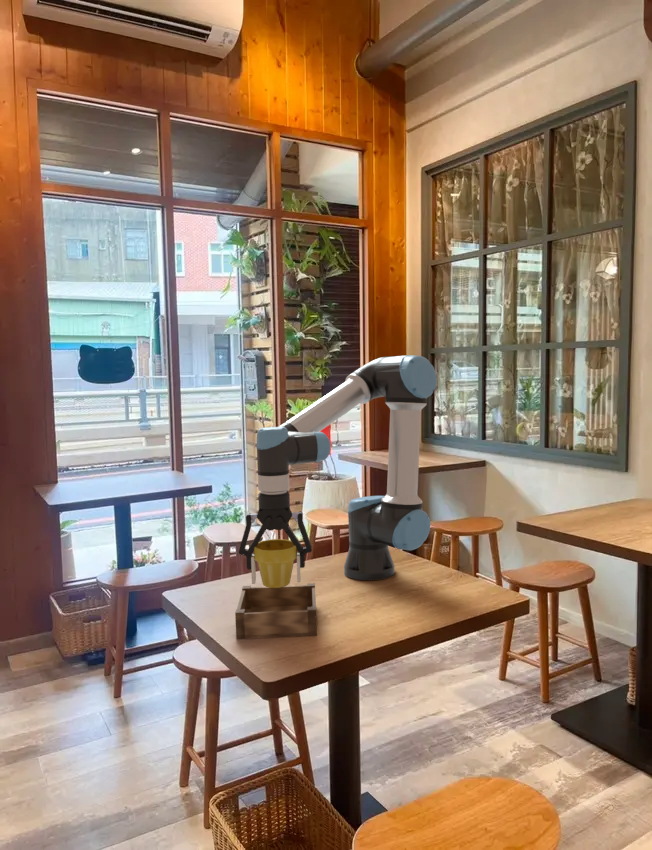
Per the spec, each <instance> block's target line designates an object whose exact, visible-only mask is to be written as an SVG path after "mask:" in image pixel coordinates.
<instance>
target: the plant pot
mask: <svg viewBox="0 0 652 850" xmlns="http://www.w3.org/2000/svg"><path fill="white" fill-rule="evenodd" d="M297 553H298V550H297V549H296V546H294V544H293V543H292V541H291V540H290V539H283V538H275V539H273V538H272V539H266V540H260V541H259V543H258V544H257V546H256V547H254V551H253V554H254V558H255V562H257V565H258V569H259V574H260V578H261V583H262V585H263V587H270V588H280V587H284V586H289V585H290V584H291V578H292V575H293V573H292V572H293V568H294V563H295V560H297Z"/></svg>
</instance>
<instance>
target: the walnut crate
mask: <svg viewBox="0 0 652 850" xmlns="http://www.w3.org/2000/svg"><path fill="white" fill-rule="evenodd" d="M241 590H242V591H241V593H240V597H239V601H238V604H237V606H236V607H237V608H236V609H235V611H234V612H235V613H234V615H235V637H236V640H238V639H239V640H243V639H247V640H248V639H265V638H266V639H267V638H289V637H293V638H294V637H297V638H298V637H315V636H316V637H317V636H318V623H317V622H318V620H317V604H316V603H317V601H316V596H317V595H316V583H315V582H314V583H313V582H312V583H306V584H305V585H303V584H299V585H297V584H296V585H287V586H284V587H280V588H270V587H266V586H251V585H242V587H241Z"/></svg>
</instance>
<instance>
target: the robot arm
mask: <svg viewBox="0 0 652 850" xmlns="http://www.w3.org/2000/svg"><path fill="white" fill-rule="evenodd" d="M437 379H438V378H437V372H436V370H435V367H434V365H433V364H431V361H429V359H427V357H424V356H421V355H413V354H410V355H396V356H395V355H394V356H382V357H378V358H375V359H373V360H371V361H369V362H367V363H365V364H364V365H362V366H361V367H359V368H357V369H355V370H354V371H353V372H351V373H350V374H349V375H347V376H346V377H345V381H344V382H343V383H341V384H340V385H338V386H337V387H335V388H334V389H333V390H331V391H330V392H328V393H326V395H324V396H322V397H321V398H319V399H317V400H316V401H315V402H313V403H312V404H311V405H309V406H306V408H304V409H303V410H301V411H300V412H298V413H297V414H296V415H294V416H292V417H291V418H289V419H288V420H287V421H285V422H284V423H282V424H281V425H278V426H266V427H265V426H264V427H261V428H259V429H258V430H257V433H256V446H255V448H256V462H257V465H256V466H257V467H256V468H257V490H258V491H259V493H258V495H257V496H258V497H257V498H258V499H257V500H258V512H256V513H251V512H248V513H247V514H246V515H245V527H244V532H243V536H242V539H241V542H240V545H239V549H238V554H239V555H243V556H245V558H246V569H247V570H251V584H252V585H255V584H256V581H257V574H256V573H257V572H256V569H257V568H256V560H255V558H254V547H256V546H257V544H258V543H259V542H261V539H262V537H263V535H264V534H265V533H266V530H268V531H274V530H276V531H282V530H283V531H284V533H285V534H286V535H287V537H288V538H289V540H291V541H292V543H293V544H294V546H296V549H297V557H296V579H297V580H296V581H297V583H301V579H302V578H301V569H304V568H305V567H306V561H305V558H306V554H308V553H311V552H312V551H313V549H312V547H313V546H312V544H311V540H310V538H309V535H308V532H307V529H306V526H305V523H304V519H303V518H304V517H303V515H304V514H303V511H300V510H299V511H298V512H296V511H295V512H293V511H292V509H291V505H290V504H291V503H290V492H289V490H290V466H292V465H298V464H299V465H300V464H309V463H315V464H316V463H318V462H321V461H325V460H326V459H327V458H329V455H330V452H331V441H330V439H329V437H328V436H327V434H326V433H324V432H323V430H324V429H325V428H327V427H328V426H330V425H331V424H334V422H336V421H337V420H339V419H340V418H342V417H343V416H344V415H346V414H347V413H348V412H351V410H353V409H354V408H355V407H357V406H358V405H360V404H361V405H365V404H367V403H369V402H371V401H372V400H373V399H377V398H383V397H385V399H384V401H385V402H384V403H385V405H387V407H388V408H389V411H390V412H389V435H388V457H387V460H388V461H387V479H386V480H387V482H386V483H387V485H386V494H385V495H369V496H362V497H356V498H353V499H351V500H350V501H349V503H348V511H347V515H348V516H347V517H348V519H347V520H348V521H347V522H348V541H349V543H348V544H349V548H348V551H347V555H346V558H345V562H344V566H343V573H344V575H345V576H346V577H348V578H350V579H352V580H353V579H354V580H359V581H379V580H384V579H388V578H391V577H392V576H394V575H395V563H394V560H393V557H392V555H391V551H390V549H389V547H393V548H395V549H399V550H406V551H414V550H416V549H418V548H420V547H421V546H422V545H423V543H424V542H426V540H427V538H428V537H429V534H430V531H431V519H430V516H428V513H427V512H426V511H425V510H423V500H422V498H420V497H419V495H418V489H419V488H418V487H419V465H420V444H421V443H420V440H421V419H422V418H421V417H422V410H423V409H424V408H425V407H426V406H427V405H428V404H427V403H428V398H429V397H431V396H432V394H434V391H436V387H437ZM292 518H293V520H294V522H297V525H298V526H297V527H298V530H299V532H300V535H301V537H302V540H303V543H304V546H303V545H302V543H301V542H300V540H299V539H298V537H297V536H296V534H295V532H294V531H293V529H292V528H291V526H290V524H289V522H290V520H291V519H292ZM256 520H258V521H259V523H261V526H260V528H259V530H258V532H257V533H256V535H255V537H254V539H252V542H251V544H250V545H249V547H248V548H246V546H247V542H248V538H249V535H250V531H251V529H252V524H254V523H255V521H256Z"/></svg>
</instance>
